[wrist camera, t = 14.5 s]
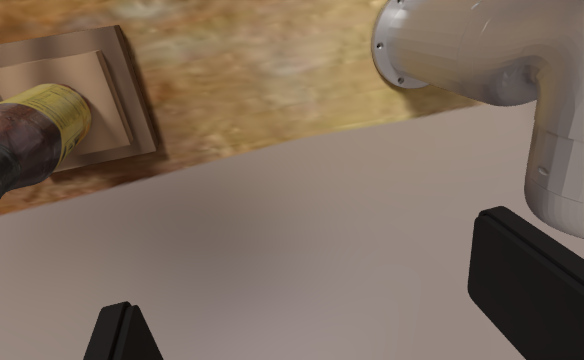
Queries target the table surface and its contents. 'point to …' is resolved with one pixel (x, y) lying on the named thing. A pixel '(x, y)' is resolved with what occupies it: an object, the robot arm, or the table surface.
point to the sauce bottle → (39, 133)
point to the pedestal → (86, 89)
